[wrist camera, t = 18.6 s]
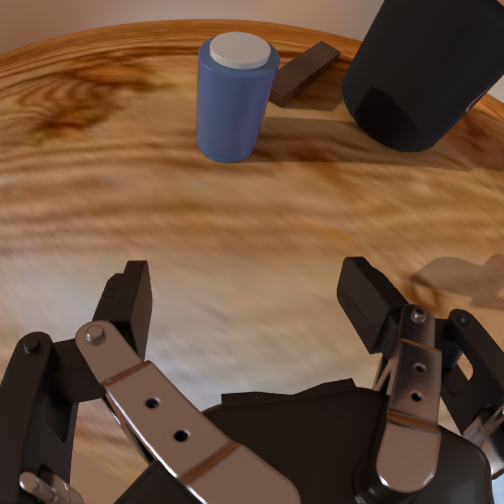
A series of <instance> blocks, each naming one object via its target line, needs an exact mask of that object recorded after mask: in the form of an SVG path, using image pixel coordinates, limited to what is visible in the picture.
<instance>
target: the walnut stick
mask: <svg viewBox="0 0 504 504" xmlns="http://www.w3.org/2000/svg"><path fill="white" fill-rule="evenodd" d="M339 55H340V51H338V50H336V49H335V48H333V47H331V46H329V45H328V44H326V43H324V42H322V41H321V42H319V43H317V44H316V45H314V46H313V47H311V48H309V49H308V50H306V51H305V52H303V53H302V54H300V55H299V56H297V57H296V58H294V59H293V60H291V61H290V62H288V63H287V64H286V65H284V66H283V67H281V68H280V69H278V70H277V74H276V77H275V80H274V84H273V87H272V90H271V94H270V97H269V101H271V102H272V103H274V104H276V105H277V106H279V107H280V108H282V107H283V106H284V105H285V104H286V103H287V102H289V101H290V100H291V99H292V98H293V97H294V96H295V95H297V94H298V93H299V92H300V91H301V90H302V89H304V88H305V87H306V86H307V85H308V84H309V83H311V82H312V81H313V80H314V79H315V78H317V77H318V76H319V75H320V74H322V73H323V72H324V71H325V70H326V69H328V68H329V67H330V66H331V65H333V64H334V63H335V62H336V61H337V59H338V57H339Z"/></svg>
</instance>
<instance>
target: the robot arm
mask: <svg viewBox="0 0 504 504" xmlns="http://www.w3.org/2000/svg"><path fill="white" fill-rule="evenodd" d="M337 299H338V301H339V303H340V305H341V307H342V308H343V310H344V312H345V313H346V315H347V316H348V318H349V320H350V321H351V323H352V325H353V327H354V328H355V330H356V332H357V333H358V335H359V337H360V338H361V340H362V342H363V343H364V345H365V347H366V349H367V350H368V352H369V354H375V353H380V352H381V353H382V354H383V355H382V357H381V359H380V362H379V365H378V369H377V373H376V377H375V380H374V384H373V387H372V389H368V388H361V387H356V385H355V383H354V381H353V379H352V378H350V379H344V380H339V381H333V382H327V383H322V384H320V385H317V386H315V387H312V388H310V389H307V390H305V391H302V392H300V393H297V394H293V395H286V394H275V393H265V392H244V393H229V394H221V401H222V404H219V405H215V406H213V407H210V408H208V409H206V410H204V411H202V412H200V411H199V410H198V409H197V408H196V407H195V406H194V405H193V404H192V403H191V402H190V401H189V400H188V399H187V398H186V397H185V396H184V395H183V394H182V393H181V392H180V391H179V390H178V389H177V388H176V387H175V386H174V385H173V384H172V383H171V382H170V381H169V380H168V379H167V378H166V376H165V375H164V374H163V373H162V372H161V371H160V370H159V369H158V368H157V367H156V366H155V364H154V363H152V362H151V361H149V360H147V361H145V362H144V359H145V352H146V345H147V338H148V331H149V325H150V319H151V312H152V291H151V284H150V276H149V268H148V262H147V261H146V260H141V261H128V262H127V265H126V267H125V270H124V273H116V274H114V275H113V276H112V277H111V278H110V279H109V280H108V281H107V283H106V286H105V288H104V291H103V293H102V296H101V298H100V301H99V303H98V306H97V309H96V311H95V314H94V316H93V319H92V322H89V323H86V324H85V325H83V326H82V327H81V328H80V329H79V330H78V331H77V333H76V335H75V338H73V339H70V340H65V341H60V342H55V343H53V342H52V340H51V337H50V336H49V335H48V334H46V333H44V332H32V333H29V334H27V335H25V336H24V337H23V338H21V339H20V340H19V342H18V343H17V345H16V347H15V350H14V352H13V354H12V357H11V359H10V362H9V364H8V367H7V369H6V372H5V374H4V377H3V379H2V382H1V385H0V504H85V503H84V500H83V498H82V496H81V495H80V493H79V492H77V490H75V489H74V488H73V487H71V486H70V471H71V459H72V449H73V440H74V432H75V425H76V418H77V412H78V405H79V402H84V401H89V400H94V399H99V398H101V399H102V401H103V402H104V404H105V405H106V407H107V408H108V410H109V411H110V413H111V414H112V416H113V417H114V419H115V420H116V421H117V423H118V424H119V426H120V427H121V429H122V430H123V431H124V433H125V434H126V436H127V437H128V438H129V440H130V441H131V443H132V444H133V446H134V447H135V449H136V450H137V451H138V453H139V454H140V455H141V457H142V458H143V459H144V460H145V462H146V463H147V464H148V465H149V466H148V467H147V468H146V470H145V471H144V472H143V473H142V474H141V475H140V476H139V477H138V478H137V479H136V480H135V481H134V483H133V484H132V485H131V486H130V487H129V488H128V489H127V490H126V491H125V492H124V493H123V494H122V495H121V496H120V497H119V498H118V499H117V500H116V502H115V503H114V504H495V503H494V499H493V492H492V480H495V479H497V478H498V477H499V476H501V475H502V474H503V473H504V353H503V351H502V350H501V349H500V347H499V346H498V345H497V344H496V342H495V341H494V340H493V339H492V337H491V336H490V335H489V334H488V333H487V331H486V330H485V329H484V328H483V327H482V325H481V324H480V323H479V322H478V321H477V319H476V318H475V317H474V316H473V315H472V314H470V313H469V312H467V311H465V310H462V309H454V310H452V311H451V312H450V314H449V316H448V319H437V318H434V315H433V314H432V313H431V311H429V310H428V309H427V308H425V307H423V306H421V305H418V304H409V303H408V302H407V300H406V299H405V298H404V297H403V296H402V295H401V293H400V292H399V291H398V290H397V289H396V288H395V287H394V285H393V284H392V283H391V282H389V280H388V278H387V277H386V276H385V275H384V274H383V273H382V272H380V271H379V270H377V269H375V268H374V267H372V266H371V265H370V263H369V262H368V261H367V260H366V259H365V258H364V257H362V256H360V257H346V258H345V259H344V261H343V265H342V269H341V274H340V278H339V282H338V286H337ZM463 353H464V355H465V356H466V357H467V359H468V360H469V362H470V363H471V365H472V367H473V375H472V377H471V378H470V380H469V381H468V380H467V378H466V376H465V375H464V373H463V372H462V370H461V369H460V367H459V366H458V364H457V362H458V360H459V359H460V357H461V355H462V354H463ZM440 396H441V398H442V400H443V402H444V403H445V405H446V407H447V409H448V411H449V413H450V414H451V416H452V418H453V420H454V422H455V424H456V426H457V428H458V429H459V431H460V433H461V435H462V437H461V436H459V435H457V434H455V433H453V432H451V431H450V430H448V429H446V428H444V427H442V426H440V425H438V414H439V403H440Z"/></svg>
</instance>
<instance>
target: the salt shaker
mask: <svg viewBox="0 0 504 504" xmlns="http://www.w3.org/2000/svg"><path fill="white" fill-rule="evenodd" d="M279 64H280V57H279V54H278V52H277V50H276V49H275V48H274V47H273V46H272V45H271V44H269V43H268V42H266V41H265V40H263V39H262V38H260V37H258V36H256V35H253V34H249V33H245V32H228V33H223V34H221V35H218V36H215V37H212V38H210V39H208V40H207V41H205V42H204V43H203V44H202V45H201V46H200V48H199V51H198V68H197V102H196V143H197V146H198V148H199V150H200V151H201V152H202V153H203V154H204V155H205V156H206V157H208V158H210V159H212V160H214V161H217V162H222V163H232V162H237V161H240V160H243V159H245V158H246V157H248V156H249V155H250V154H251V153H252V152H253V150H254V148H255V146H256V142H257V139H258V135H259V132H260V128H261V125H262V121H263V118H264V114H265V111H266V107H267V104H268V101H269V97H270V94H271V90H272V87H273V84H274V80H275V77H276V74H277V70H278V67H279Z"/></svg>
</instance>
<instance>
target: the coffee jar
mask: <svg viewBox="0 0 504 504" xmlns="http://www.w3.org/2000/svg"><path fill="white" fill-rule="evenodd" d="M503 75H504V0H384V3H383V4H382V6H381V8H380V10H379V12H378V14H377V16H376V18H375V19H374V21H373V23H372V25H371V27H370V29H369V31H368V33H367V35H366V36H365V38H364V40H363V42H362V44H361V46H360V48H359V50H358V52H357V53H356V55H355V57H354V59H353V61H352V63H351V65H350V67H349V69H348V70H347V72H346V74H345V76H344V78H343V80H342V88H343V97H344V100H345V104H346V106H347V108H348V110H349V113H350V115H351V116H352V117H353V118H354V120H355V121H356V122H357V123H358V125H359V126H360V127H361V128H362V129H363V130H365V131H366V132H367V133H368V134H369V135H370V136H371V137H372V138H374V139H376V140H377V141H379V142H381V143H382V144H384V145H385V146H387V147H390V148H393V149H396V150H398V151H406V152H413V151H414V152H420V151H423V150H426V149H428V148H431V147H432V146H433V145H434V144H435V143H436V142H437V141H438V140H439V139H441V138H442V137H443V136H444V135H445V134H446V133H447V132H448V131H449V130H450V129H451V128H452V127H453V126H454V125H455V124H456V123H457V122H458V121H459V120H460V119H461V118H462V117H463V116H464V115H465V114H466V113H467V112H468V111H469V110H470V109H471V108H472V107H473V106H474V105H475V104H476V103H477V102H478V101H479V100H480V99H481V98H482V97H483V96H484V95H485V94H486V93H487V92H488V91H489V90H490V89H491V88H492V86H493V85H494V84H495V83H496V82H497V81H498V80H499V79H500V78H501V77H502V76H503Z"/></svg>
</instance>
